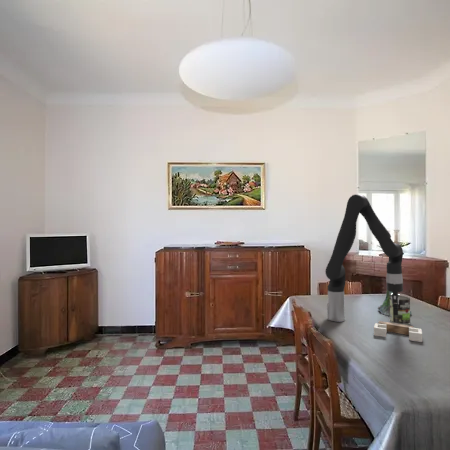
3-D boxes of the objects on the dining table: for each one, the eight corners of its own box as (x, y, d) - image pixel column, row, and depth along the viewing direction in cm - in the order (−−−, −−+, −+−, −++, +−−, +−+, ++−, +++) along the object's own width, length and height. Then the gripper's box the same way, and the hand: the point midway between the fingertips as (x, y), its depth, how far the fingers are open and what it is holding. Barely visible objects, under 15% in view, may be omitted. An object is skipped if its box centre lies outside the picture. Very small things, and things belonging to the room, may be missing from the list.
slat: (378, 330, 169) (378, 322, 169) (379, 328, 172) (379, 321, 172) (412, 336, 159) (412, 328, 159) (413, 334, 162) (413, 326, 162)
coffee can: (415, 324, 177) (414, 298, 177) (399, 326, 174) (399, 300, 174) (400, 318, 187) (399, 294, 187) (385, 320, 184) (385, 296, 184)
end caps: (374, 335, 161) (374, 327, 161) (375, 330, 167) (375, 323, 167) (422, 342, 151) (422, 333, 150) (421, 336, 157) (421, 328, 157)
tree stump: (380, 317, 192) (377, 287, 196) (376, 316, 210) (374, 288, 215) (415, 318, 186) (411, 286, 190) (408, 316, 205) (404, 288, 209)
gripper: (387, 279, 174) (388, 308, 173) (386, 283, 161) (387, 315, 161) (402, 280, 170) (403, 310, 170) (402, 284, 157) (404, 317, 157)
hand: (395, 312), depth 165 cm, fingers open, 8 cm apart
